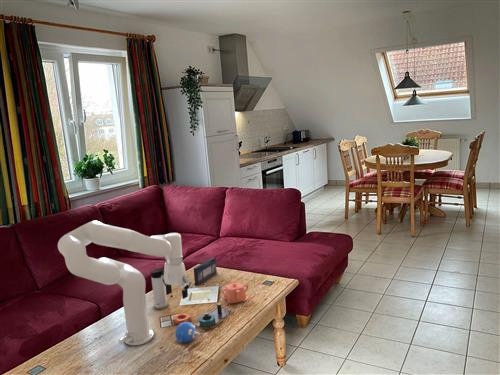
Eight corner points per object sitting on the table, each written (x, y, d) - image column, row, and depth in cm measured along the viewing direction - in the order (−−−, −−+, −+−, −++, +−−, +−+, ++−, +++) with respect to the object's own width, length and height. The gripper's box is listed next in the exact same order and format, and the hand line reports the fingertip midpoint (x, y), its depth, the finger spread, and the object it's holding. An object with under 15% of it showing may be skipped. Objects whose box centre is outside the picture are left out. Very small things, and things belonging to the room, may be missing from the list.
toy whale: (196, 351, 173) (194, 332, 171) (170, 347, 177) (168, 329, 175) (208, 336, 184) (207, 318, 182) (184, 332, 188) (182, 315, 186)
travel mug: (159, 311, 210) (154, 273, 207) (152, 307, 215) (148, 270, 212) (170, 306, 215) (165, 269, 211) (163, 302, 219) (159, 266, 216)
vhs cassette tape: (198, 285, 238) (196, 268, 237) (194, 284, 240) (192, 267, 238) (217, 273, 253) (216, 258, 252) (213, 273, 255) (212, 257, 253)
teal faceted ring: (208, 327, 189) (208, 322, 188) (196, 324, 192) (195, 319, 192) (218, 320, 195) (217, 315, 194) (205, 317, 198) (205, 312, 198)
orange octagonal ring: (183, 326, 193) (182, 321, 193) (171, 323, 197) (170, 318, 197) (193, 319, 199) (192, 314, 199) (181, 316, 203) (180, 312, 203)
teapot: (231, 294, 223) (229, 277, 222) (251, 298, 217) (249, 280, 216) (219, 304, 213) (217, 286, 212) (239, 308, 208) (238, 289, 206)
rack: (209, 330, 188) (208, 319, 187) (195, 326, 192) (194, 315, 191) (231, 312, 203) (230, 302, 202) (218, 309, 207) (217, 299, 206)
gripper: (154, 260, 194) (157, 295, 196) (183, 265, 185) (186, 302, 187) (165, 255, 200) (168, 289, 203) (194, 260, 191) (196, 296, 194)
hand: (177, 295), depth 195 cm, fingers open, 9 cm apart
